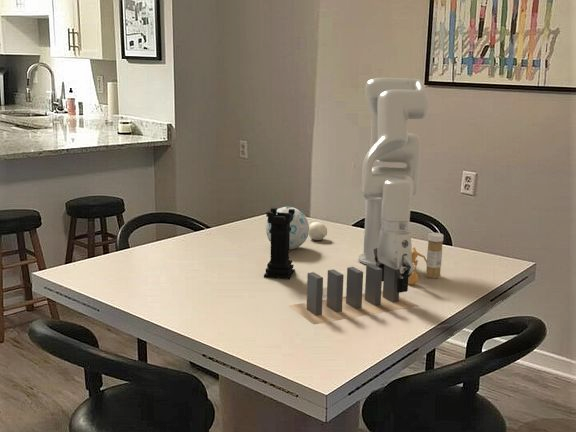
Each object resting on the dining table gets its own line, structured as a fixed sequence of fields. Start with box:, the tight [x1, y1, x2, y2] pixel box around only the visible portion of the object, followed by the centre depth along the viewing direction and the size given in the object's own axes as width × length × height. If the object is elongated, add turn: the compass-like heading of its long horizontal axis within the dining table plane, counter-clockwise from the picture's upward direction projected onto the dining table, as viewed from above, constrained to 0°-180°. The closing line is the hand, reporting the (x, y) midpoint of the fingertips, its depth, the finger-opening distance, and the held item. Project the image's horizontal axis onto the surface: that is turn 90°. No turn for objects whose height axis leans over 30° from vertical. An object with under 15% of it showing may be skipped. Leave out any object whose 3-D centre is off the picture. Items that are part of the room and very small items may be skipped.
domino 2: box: [326, 269, 345, 312], centre depth 170 cm, size 2×5×10 cm, turn 26°
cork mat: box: [288, 290, 419, 325], centre depth 173 cm, size 32×14×1 cm, turn 116°
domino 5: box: [382, 265, 400, 303], centre depth 177 cm, size 2×5×10 cm, turn 27°
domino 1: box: [306, 271, 324, 316], centre depth 167 cm, size 2×5×10 cm, turn 27°
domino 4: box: [364, 264, 383, 306], centre depth 175 cm, size 2×5×10 cm, turn 26°
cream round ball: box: [308, 221, 328, 241], centre depth 240 cm, size 7×7×7 cm
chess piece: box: [263, 207, 296, 281], centre depth 197 cm, size 8×8×20 cm
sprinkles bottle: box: [425, 232, 444, 279], centre depth 199 cm, size 5×5×14 cm
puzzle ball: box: [265, 206, 310, 251], centre depth 226 cm, size 15×15×15 cm
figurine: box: [408, 246, 427, 286], centre depth 190 cm, size 8×6×12 cm
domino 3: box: [345, 266, 364, 309], centre depth 172 cm, size 2×5×10 cm, turn 26°
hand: (391, 286), depth 178 cm, fingers open, 9 cm apart
